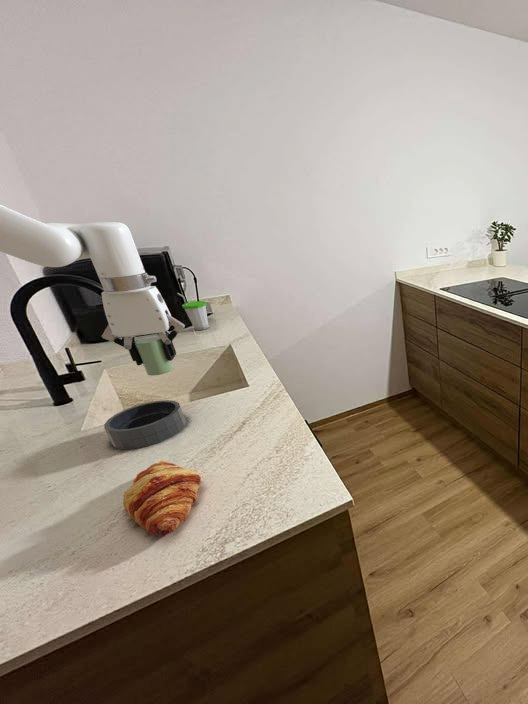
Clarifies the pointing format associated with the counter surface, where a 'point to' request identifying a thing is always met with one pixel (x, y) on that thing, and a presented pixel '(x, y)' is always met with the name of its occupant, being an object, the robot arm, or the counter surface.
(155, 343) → the mint green cylinder
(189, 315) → the cup
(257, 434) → the counter surface
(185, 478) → the croissant
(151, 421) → the basin
